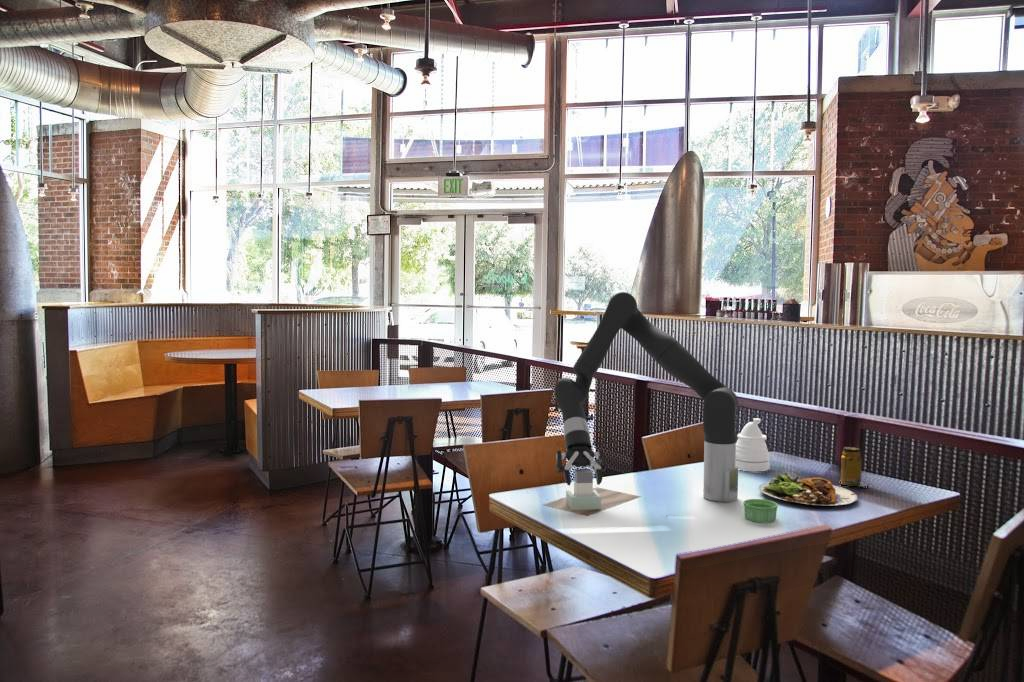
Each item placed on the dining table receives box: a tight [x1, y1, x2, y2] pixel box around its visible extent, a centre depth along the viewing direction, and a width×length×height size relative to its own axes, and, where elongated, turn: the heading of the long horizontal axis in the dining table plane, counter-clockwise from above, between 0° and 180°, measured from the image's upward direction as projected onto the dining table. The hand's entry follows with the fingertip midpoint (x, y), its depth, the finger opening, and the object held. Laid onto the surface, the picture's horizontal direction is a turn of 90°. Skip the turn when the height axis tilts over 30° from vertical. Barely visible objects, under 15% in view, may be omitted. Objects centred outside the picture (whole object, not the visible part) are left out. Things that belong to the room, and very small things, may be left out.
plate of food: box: [758, 472, 858, 506], centre depth 227 cm, size 28×28×6 cm
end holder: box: [565, 489, 601, 510], centre depth 212 cm, size 8×8×4 cm
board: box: [542, 486, 642, 517], centre depth 217 cm, size 16×27×1 cm, turn 138°
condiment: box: [840, 446, 868, 489], centre depth 242 cm, size 7×8×12 cm
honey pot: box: [736, 417, 771, 471], centre depth 265 cm, size 13×13×18 cm
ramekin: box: [743, 498, 779, 524], centre depth 204 cm, size 9×9×4 cm
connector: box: [573, 468, 594, 497], centre depth 212 cm, size 4×4×10 cm
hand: (584, 483), depth 210 cm, fingers open, 8 cm apart
